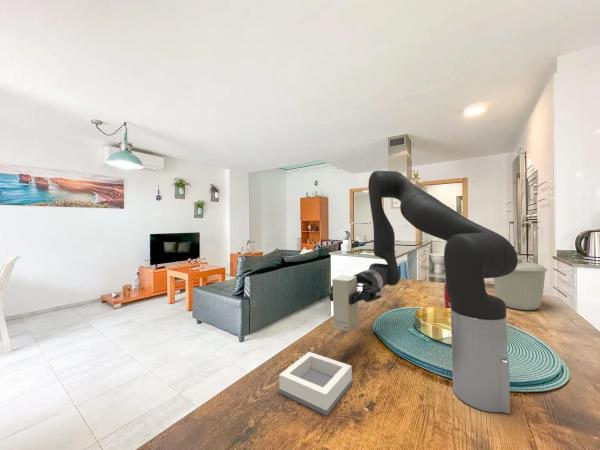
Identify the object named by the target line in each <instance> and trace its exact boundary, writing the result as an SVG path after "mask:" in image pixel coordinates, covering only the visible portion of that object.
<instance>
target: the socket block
mask: <svg viewBox="0 0 600 450" xmlns="http://www.w3.org/2000/svg"><path fill="white" fill-rule="evenodd" d="M352 369H353V368H352V365H350V364H348V363H345V362H343V361H342V362H341V361H338V360H335V359H334V358H333V359H332V358H329V357H326V356H323V355H320V354H317V353H314V352H311V351H308V352H307V353H305V354H304V355H303V356H301V357H300V358H299V359H297V360H296V361H295V362H294V363H292V364H291V365H289V366H288V367H287V368H285V369H284V370H283V371H282V372H281V373H279V375H278V380H279V384H278V385H279V387H278V388H279V394H280V395H281V396H285V397H286V398H288V399H289V400H290V399H291V400H293V401H295V402H297V403H299V404H301V405H303V406H305V407H306V408H309V409H311V410H313V411H315V412H318V413H319V414H322V415H323V416H326V417H327V416H328V415H330V414H329V413H330V412H331V411H332V410H333V409H334V407H335V406H336V404H337V403H338V402H339V401H340V400H341V398H342V397H343V396H344V395H345V393H346V392H347V391H348V389H350V387H351V386H352V384H353V371H352Z"/></svg>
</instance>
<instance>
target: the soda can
mask: <svg viewBox="0 0 600 450" xmlns="http://www.w3.org/2000/svg"><path fill="white" fill-rule="evenodd" d="M443 289H444V291H443V296H444V308H445V309H446V308H451V302H450V299H449V296H448V293H447V288H446V281H445V283H444V284H443Z"/></svg>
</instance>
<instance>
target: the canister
mask: <svg viewBox="0 0 600 450" xmlns="http://www.w3.org/2000/svg"><path fill="white" fill-rule="evenodd" d="M517 257H518V264H517V267H516V268H515V270H514V271H513V272H511V273H510V274H508V275H505V276H502V277H496V278H492V279H493V285H494V291H495V297H498V298H500V299H501V300H503V301H504V302H505V304H506V308H510V309H514V310H520V311H534V310H537V309H539V308H540V307H541V305H542V301H543V295H544V286H545V280H546V279H545V277H546V272H547V271H548V270H549V269H548V267H544V266H543V265H542V264H538V263H536V262H530V261H529V262H527V261H523V257H522V256H520V255H518V254H517Z"/></svg>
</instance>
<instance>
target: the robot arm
mask: <svg viewBox="0 0 600 450" xmlns="http://www.w3.org/2000/svg"><path fill="white" fill-rule="evenodd" d="M367 185H368V197H369V204H370V205H369V206H370V211H371V217H372V218H371V219H372V224H373V225H372V227H373V255H374V256H375V257H377V258H380V259H383V260H385V263H379V262H375V263H371V264H370V265H369V267H368V269H365V270H363V271H360V272H358V273H355V274H354V275H353V276H356V277H357V292H354V293H352V294H351V295H349V304H350V305H353V304H354V303H357V302H359V303H361V302H363V301H364V302H365V303H370V302H373V301H375V300H378V299H381V298H382V289H383V288H385V286H396V285H397V284H399V281H400V278H401V272H400V269H399V265H398V262H397V257H396V252H395V251H396V250H395V244H396V242H395V236H396V235H395V231H394V230H395V229H394V228H393V225H392V224H391V222H390V221H389V218H388V217H387V214H386V212H385V210H384V208H383V200H382V199H383V198H384V199H385V198H389V199H396V200H398V201H399V202H400V205H399V206H400V207H399V211H400V213H401V215H402V217H403V218H404V219H405V220H406V221H407V222H408V223H409V224H410V225H412V226H413V228H415V229H417V230H419V232H423V233H424V234H426V235H430V236H433V237H435V238H437V239H440V240H443V241H446V243H445V246H444V250H443V251H444V253H443V255H444V256H443V261H444V262H443V263H444V265H443V266H444V273H445V282H446V288H447V293H448V296H449V299H450V302H451V312H450V321H451V322H450V327H451V328H450V329H451V334H452V337H451V359H452V360H451V362H452V363H451V364H452V366H451V367H452V370H451V371H452V377H451V378H452V391H453V392H454V395H456V397H457V398H458V399H459V400H460V401H462V402H464V403H465V404H467V405H468V406H470V407H472V408H475V409H477V410H480V411H484V412H489V413H505V414H508V415H511V393H510V392H511V390H510V388H511V387H510V363H509V362H510V361H509V357H508V330H507V329H508V328H507V327H508V325H507V323H508V322H507V307H506V304H505V302H504V301H503V300H501V299H500V298H498V297H496V295H492V294H489V293H488V292H487V290H486V284H485V279H493V278H496V277H502V276H505V275H508V274H510V273H511V272H513V271H514V270H515V268H516V267H517V264H518V257H517V255H518V254H517V251H516V249H515V247H514V246H513V244H512V243H511V242H510V241H509V240H508V239H507V238H506V237H504V236H503V235H501V234H499V233H497V232H495V231H493V230H492V229H489V228H487V227H485V226H483V225H480V224H479V223H477V222H475V221H473V220H470V219H468V218H467V217H465V216H463V215H462V214H460V213H459V212H458V211H456V210H455V209H453V208H451V207H450V206H448V205H447V204H445V203H443V202H442V201H440V199H438V198H437V197H435V196H433V195H432V194H430V193H429V192H426V191H425V190H423V189H422V188H420V187H418V186H417V185H415V184H413V182H411V181H410V180H409V179H408V178H407V177H406V176H405V175H404V174H403V173H401V172H399V171H394V170H375V171H373V172H371V174H370V176H369V178H368V183H367ZM328 295H329V301H330V302H333V284H332V285H331V286H330V292H329V293H328Z"/></svg>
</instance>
